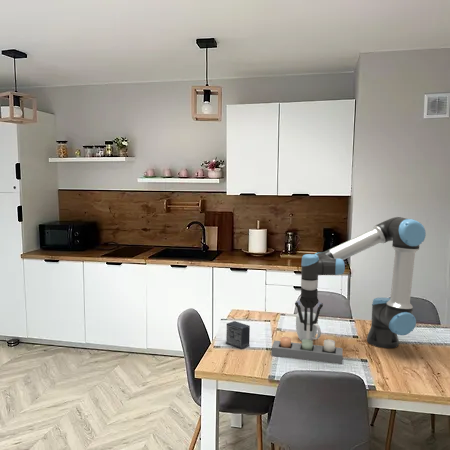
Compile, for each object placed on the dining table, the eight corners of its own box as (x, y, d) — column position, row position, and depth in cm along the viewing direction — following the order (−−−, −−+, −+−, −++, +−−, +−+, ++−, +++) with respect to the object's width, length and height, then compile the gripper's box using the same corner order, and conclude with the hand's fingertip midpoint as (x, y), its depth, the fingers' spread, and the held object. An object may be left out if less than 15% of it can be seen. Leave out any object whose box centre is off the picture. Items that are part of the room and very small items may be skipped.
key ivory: (334, 348, 201) (335, 340, 201) (334, 352, 196) (334, 344, 196) (323, 347, 203) (324, 338, 202) (323, 351, 198) (323, 342, 197)
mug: (327, 343, 218) (328, 318, 217) (311, 348, 212) (312, 322, 211) (306, 334, 230) (307, 310, 229) (290, 338, 224) (291, 313, 223)
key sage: (312, 348, 204) (313, 339, 203) (312, 352, 199) (312, 343, 199) (302, 346, 205) (302, 338, 205) (301, 350, 200) (301, 342, 200)
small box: (250, 345, 214) (250, 325, 213) (241, 349, 209) (242, 328, 208) (234, 340, 221) (234, 320, 220) (225, 343, 216) (225, 323, 215)
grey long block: (342, 356, 203) (342, 348, 202) (342, 364, 194) (342, 355, 194) (274, 348, 211) (274, 340, 210) (271, 355, 202) (271, 347, 202)
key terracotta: (291, 345, 206) (291, 337, 206) (290, 349, 202) (290, 341, 201) (280, 344, 208) (281, 336, 207) (279, 348, 203) (279, 340, 202)
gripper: (324, 287, 201) (322, 336, 203) (295, 285, 204) (294, 333, 207) (323, 291, 194) (322, 341, 196) (294, 289, 197) (293, 339, 200)
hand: (308, 337), depth 202 cm, fingers closed
